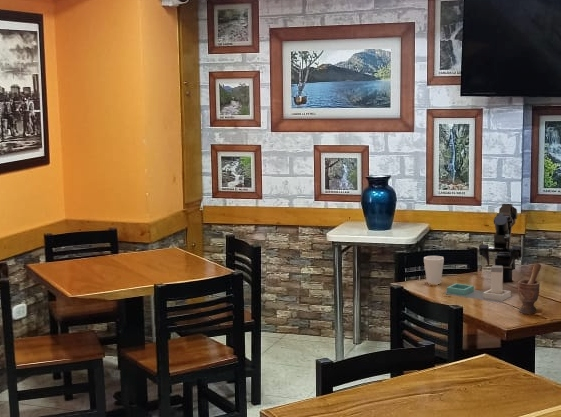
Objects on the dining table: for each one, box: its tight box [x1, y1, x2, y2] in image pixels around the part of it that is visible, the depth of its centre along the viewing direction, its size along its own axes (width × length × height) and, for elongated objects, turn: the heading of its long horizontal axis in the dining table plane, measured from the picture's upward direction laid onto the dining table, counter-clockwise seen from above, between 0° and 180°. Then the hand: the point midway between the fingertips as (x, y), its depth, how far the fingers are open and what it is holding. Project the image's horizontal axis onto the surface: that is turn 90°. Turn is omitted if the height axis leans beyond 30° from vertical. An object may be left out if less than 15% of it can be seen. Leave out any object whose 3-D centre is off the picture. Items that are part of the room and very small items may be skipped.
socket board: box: [442, 282, 515, 304], centre depth 366 cm, size 28×14×4 cm, turn 51°
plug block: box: [490, 264, 504, 295], centre depth 359 cm, size 4×4×14 cm
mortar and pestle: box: [517, 262, 542, 315], centre depth 339 cm, size 12×9×20 cm
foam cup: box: [423, 255, 445, 284], centre depth 390 cm, size 10×9×13 cm
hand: (498, 266), depth 366 cm, fingers open, 9 cm apart
